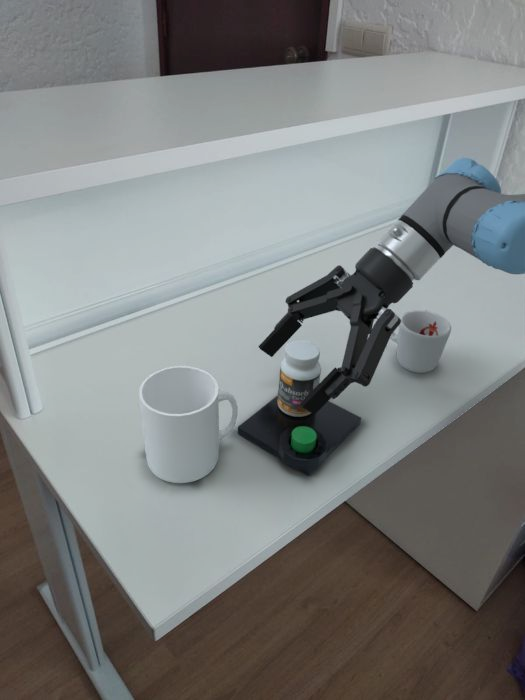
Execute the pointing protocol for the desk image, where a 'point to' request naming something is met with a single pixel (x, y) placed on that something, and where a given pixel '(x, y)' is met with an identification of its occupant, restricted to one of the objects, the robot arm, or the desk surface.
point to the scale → (276, 427)
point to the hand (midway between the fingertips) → (284, 379)
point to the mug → (182, 422)
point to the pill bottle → (298, 376)
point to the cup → (421, 340)
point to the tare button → (303, 439)
